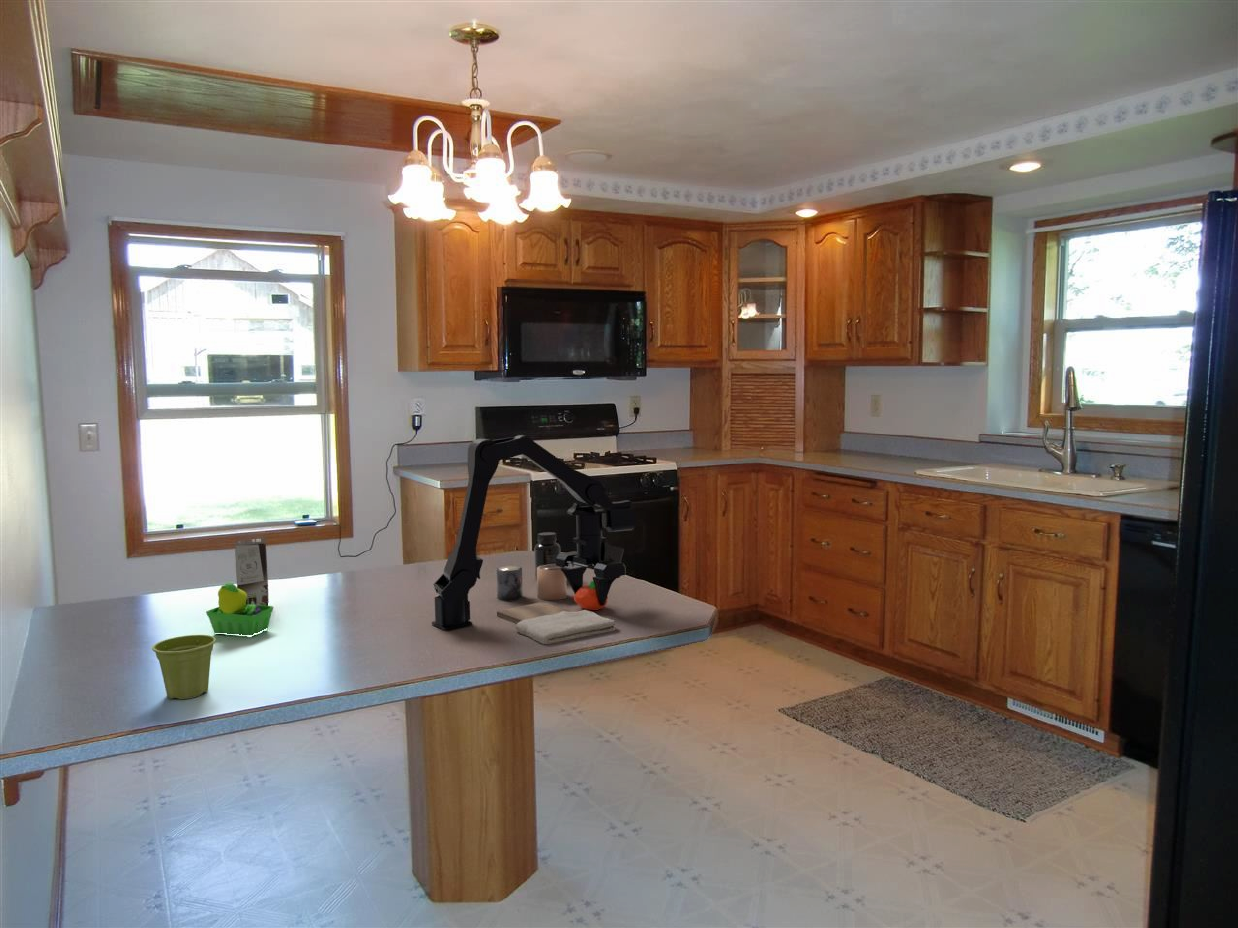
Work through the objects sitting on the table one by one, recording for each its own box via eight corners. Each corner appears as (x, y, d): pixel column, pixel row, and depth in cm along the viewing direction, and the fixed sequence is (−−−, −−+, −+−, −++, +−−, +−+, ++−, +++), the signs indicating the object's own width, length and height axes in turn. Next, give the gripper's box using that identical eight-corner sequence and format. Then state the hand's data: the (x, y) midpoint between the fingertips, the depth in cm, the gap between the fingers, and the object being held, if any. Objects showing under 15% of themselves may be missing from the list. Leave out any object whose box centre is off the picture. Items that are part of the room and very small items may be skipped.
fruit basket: (277, 629, 180) (274, 576, 179) (248, 642, 171) (245, 586, 170) (231, 626, 183) (228, 574, 182) (200, 638, 174) (197, 583, 173)
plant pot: (160, 708, 136) (156, 655, 135) (151, 691, 143) (148, 641, 143) (223, 695, 141) (221, 644, 140) (212, 680, 149) (209, 631, 148)
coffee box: (269, 614, 192) (265, 543, 190) (237, 617, 190) (233, 545, 188) (269, 604, 200) (266, 536, 199) (239, 607, 198) (235, 538, 197)
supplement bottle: (563, 576, 227) (562, 531, 225) (558, 582, 220) (558, 535, 219) (537, 576, 227) (536, 531, 226) (532, 581, 220) (531, 535, 219)
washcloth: (619, 632, 177) (619, 617, 176) (544, 648, 166) (543, 632, 166) (587, 619, 186) (587, 605, 186) (514, 634, 176) (514, 619, 176)
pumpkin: (593, 605, 199) (595, 577, 198) (612, 612, 192) (615, 583, 192) (566, 605, 194) (569, 577, 194) (585, 613, 188) (588, 584, 188)
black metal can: (506, 601, 200) (505, 572, 200) (492, 597, 205) (491, 568, 204) (527, 597, 204) (526, 568, 203) (513, 593, 209) (513, 564, 208)
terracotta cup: (548, 601, 200) (547, 571, 199) (531, 596, 205) (531, 567, 205) (572, 596, 204) (572, 567, 204) (555, 591, 210) (555, 563, 209)
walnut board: (527, 627, 179) (527, 622, 179) (496, 615, 188) (496, 611, 188) (573, 616, 187) (573, 612, 187) (542, 606, 196) (542, 601, 196)
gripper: (644, 534, 190) (644, 603, 191) (592, 524, 204) (593, 589, 205) (604, 540, 183) (605, 612, 184) (554, 530, 197) (555, 596, 198)
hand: (590, 601), depth 193 cm, fingers closed on pumpkin, 8 cm apart
